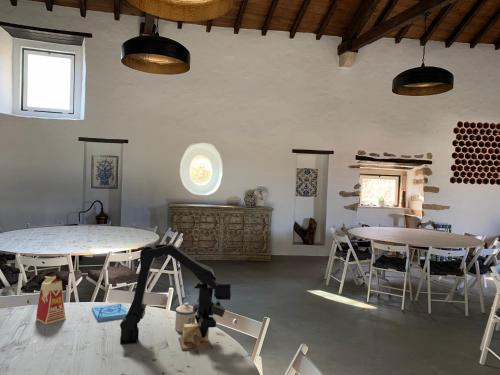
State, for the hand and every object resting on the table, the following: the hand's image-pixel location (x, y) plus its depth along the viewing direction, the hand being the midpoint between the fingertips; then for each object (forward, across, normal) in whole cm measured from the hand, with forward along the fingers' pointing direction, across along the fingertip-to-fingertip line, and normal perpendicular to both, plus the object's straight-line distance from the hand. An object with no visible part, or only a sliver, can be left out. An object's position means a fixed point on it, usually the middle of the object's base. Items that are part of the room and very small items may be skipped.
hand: (202, 335), depth 160 cm
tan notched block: (+2, 0, +3) cm, 3 cm away
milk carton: (+3, +34, +62) cm, 71 cm away
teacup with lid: (+3, +16, +4) cm, 17 cm away
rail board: (+3, 0, +3) cm, 4 cm away
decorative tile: (+4, +37, +37) cm, 52 cm away
